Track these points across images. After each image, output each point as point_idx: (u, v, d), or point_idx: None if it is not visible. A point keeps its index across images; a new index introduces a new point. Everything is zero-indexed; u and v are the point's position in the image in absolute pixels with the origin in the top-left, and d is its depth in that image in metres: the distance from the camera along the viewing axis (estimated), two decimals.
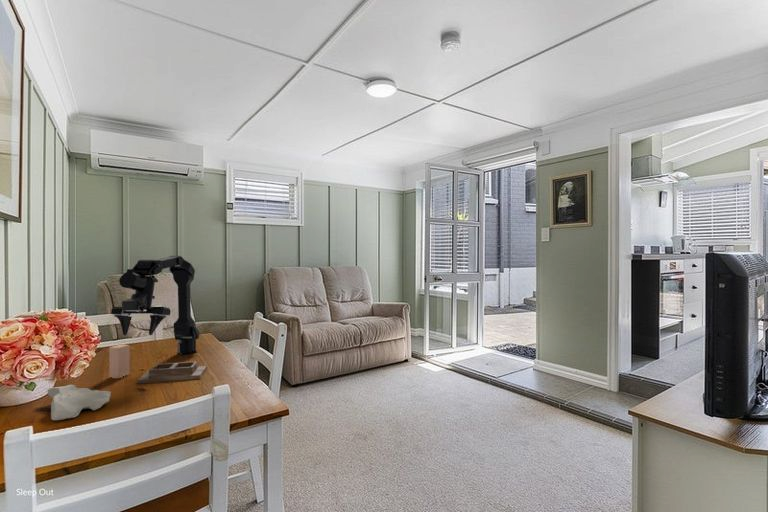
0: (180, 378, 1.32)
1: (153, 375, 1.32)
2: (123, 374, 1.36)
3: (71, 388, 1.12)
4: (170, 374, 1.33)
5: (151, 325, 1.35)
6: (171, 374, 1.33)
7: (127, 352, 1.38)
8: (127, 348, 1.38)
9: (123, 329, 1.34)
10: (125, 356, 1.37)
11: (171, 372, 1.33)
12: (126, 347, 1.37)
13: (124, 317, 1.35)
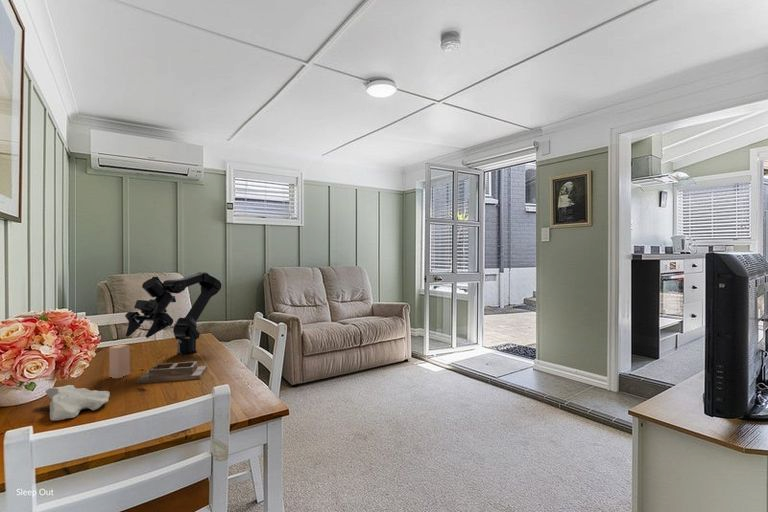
0: (180, 378, 1.32)
1: (153, 375, 1.32)
2: (123, 374, 1.36)
3: (70, 388, 1.12)
4: (170, 374, 1.33)
5: (151, 328, 1.44)
6: (171, 374, 1.33)
7: (127, 352, 1.38)
8: (127, 348, 1.38)
9: (128, 330, 1.45)
10: (125, 356, 1.37)
11: (171, 372, 1.33)
12: (126, 347, 1.37)
13: (134, 321, 1.48)
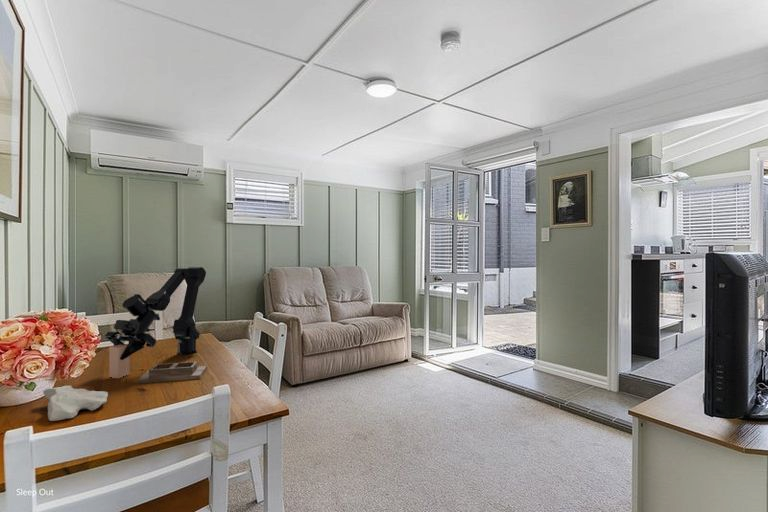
0: (180, 378, 1.32)
1: (153, 375, 1.32)
2: (123, 374, 1.36)
3: (68, 389, 1.11)
4: (170, 374, 1.33)
5: (126, 349, 1.36)
6: (171, 374, 1.33)
7: None
8: None
9: None
10: None
11: (171, 372, 1.33)
12: (126, 347, 1.37)
13: (119, 342, 1.39)
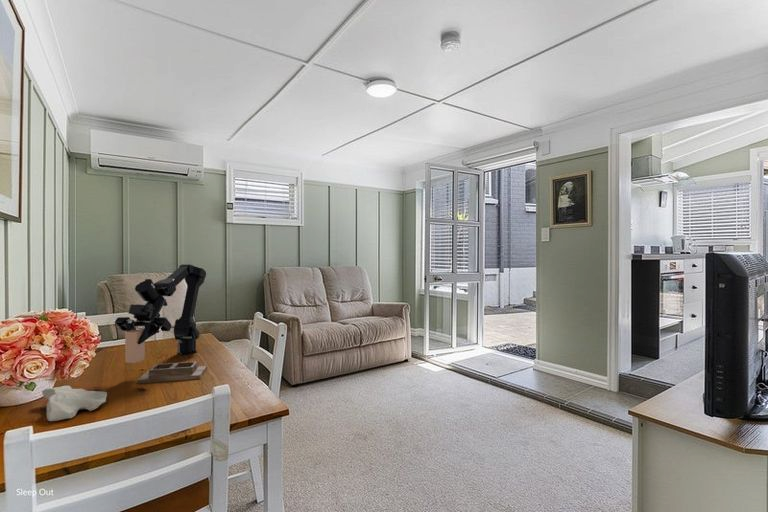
0: (180, 378, 1.32)
1: (153, 375, 1.32)
2: (140, 358, 1.35)
3: (66, 389, 1.11)
4: (170, 374, 1.33)
5: (143, 334, 1.36)
6: (171, 374, 1.33)
7: None
8: None
9: None
10: None
11: (171, 372, 1.33)
12: (142, 331, 1.36)
13: (132, 327, 1.38)
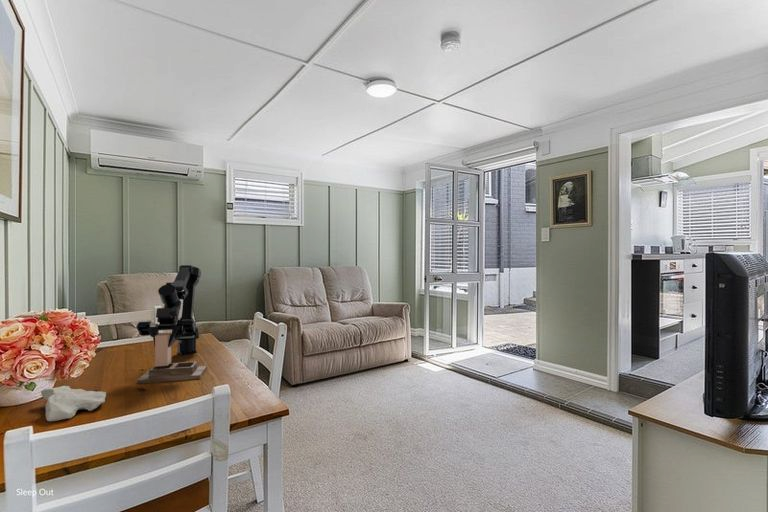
0: (180, 378, 1.32)
1: (153, 375, 1.32)
2: (169, 361, 1.36)
3: (65, 389, 1.11)
4: (170, 374, 1.33)
5: (171, 336, 1.37)
6: (171, 374, 1.33)
7: None
8: (170, 335, 1.38)
9: None
10: None
11: (171, 372, 1.33)
12: (170, 334, 1.37)
13: (157, 331, 1.38)
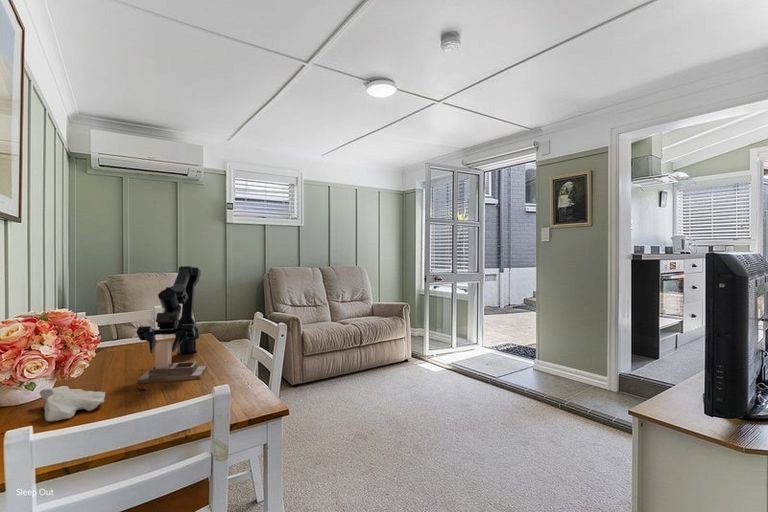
0: (180, 378, 1.32)
1: (153, 375, 1.32)
2: None
3: (64, 389, 1.11)
4: (170, 374, 1.33)
5: (175, 341, 1.37)
6: (171, 374, 1.33)
7: (170, 349, 1.38)
8: (170, 344, 1.38)
9: (151, 346, 1.34)
10: (170, 353, 1.37)
11: (171, 372, 1.33)
12: (170, 343, 1.37)
13: (153, 336, 1.37)
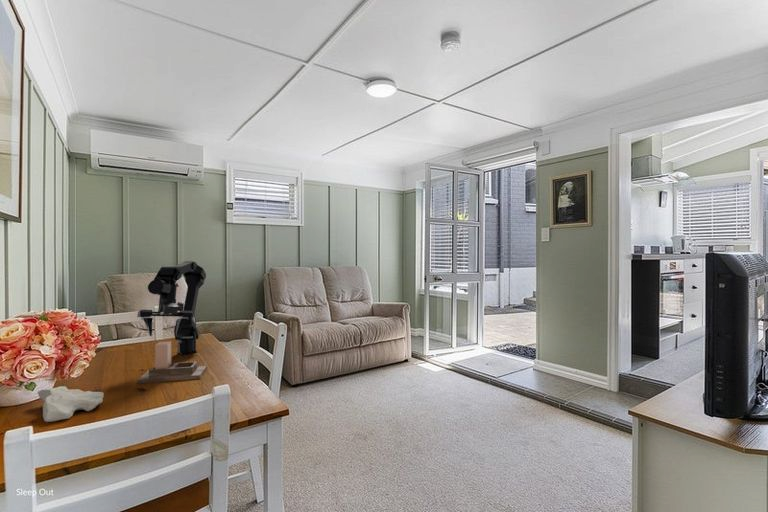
0: (180, 378, 1.32)
1: (153, 375, 1.32)
2: None
3: (62, 389, 1.11)
4: (170, 374, 1.33)
5: (179, 327, 1.52)
6: (171, 374, 1.33)
7: (170, 349, 1.38)
8: (170, 344, 1.38)
9: (150, 331, 1.45)
10: (169, 353, 1.37)
11: (171, 372, 1.33)
12: (170, 343, 1.37)
13: None
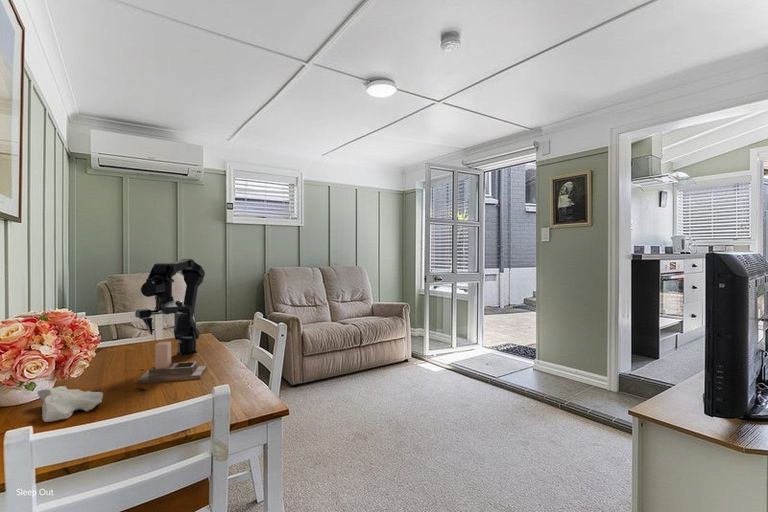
0: (180, 378, 1.32)
1: (153, 375, 1.32)
2: None
3: (62, 389, 1.11)
4: (170, 374, 1.33)
5: (178, 322, 1.54)
6: (171, 374, 1.33)
7: (170, 349, 1.38)
8: (170, 344, 1.38)
9: (151, 329, 1.47)
10: (169, 353, 1.37)
11: (171, 372, 1.33)
12: (170, 343, 1.37)
13: None
